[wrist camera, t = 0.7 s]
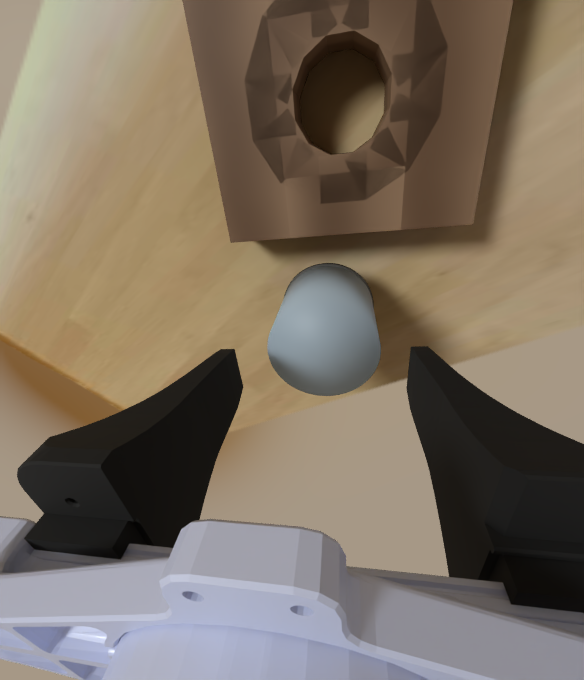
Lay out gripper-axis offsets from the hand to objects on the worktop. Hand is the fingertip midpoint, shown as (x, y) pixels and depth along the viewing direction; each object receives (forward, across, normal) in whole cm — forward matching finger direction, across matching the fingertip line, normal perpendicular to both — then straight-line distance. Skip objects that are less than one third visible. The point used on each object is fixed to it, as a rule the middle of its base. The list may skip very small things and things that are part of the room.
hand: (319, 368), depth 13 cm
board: (+8, -1, -10) cm, 13 cm away
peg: (+8, 0, 0) cm, 8 cm away
